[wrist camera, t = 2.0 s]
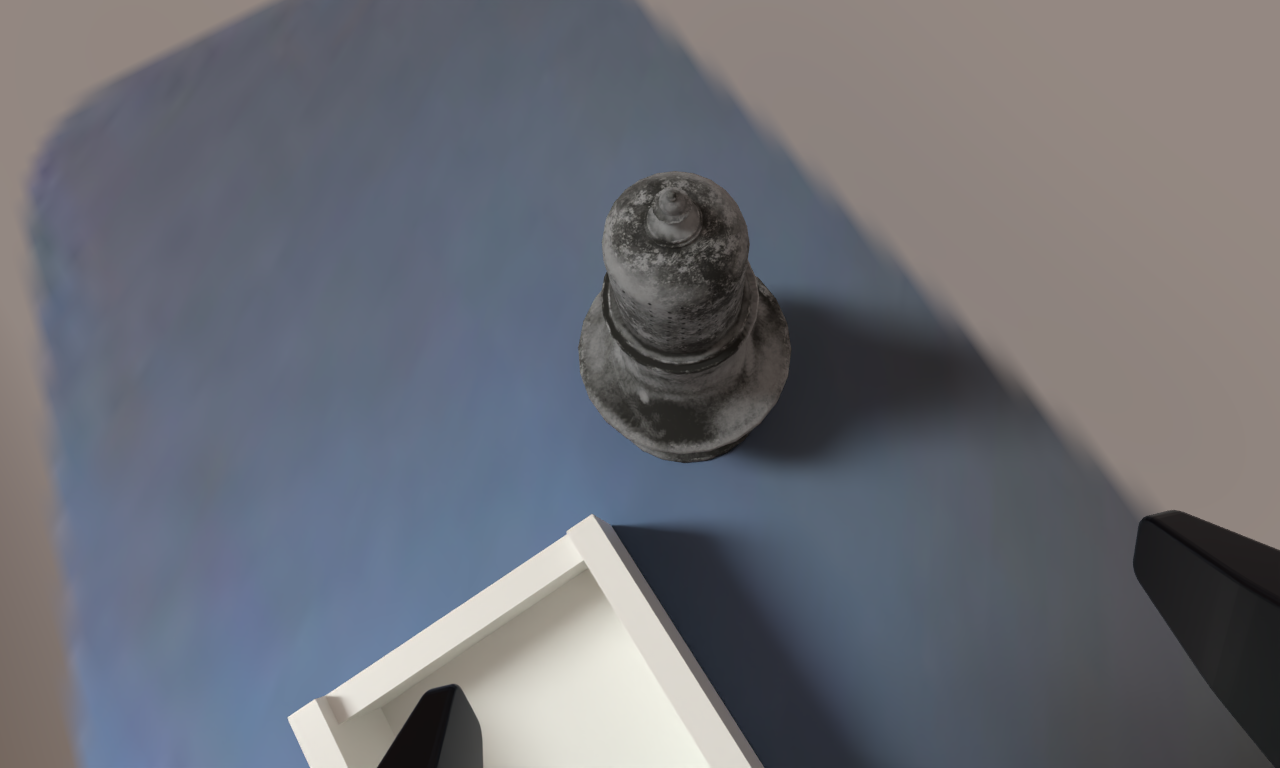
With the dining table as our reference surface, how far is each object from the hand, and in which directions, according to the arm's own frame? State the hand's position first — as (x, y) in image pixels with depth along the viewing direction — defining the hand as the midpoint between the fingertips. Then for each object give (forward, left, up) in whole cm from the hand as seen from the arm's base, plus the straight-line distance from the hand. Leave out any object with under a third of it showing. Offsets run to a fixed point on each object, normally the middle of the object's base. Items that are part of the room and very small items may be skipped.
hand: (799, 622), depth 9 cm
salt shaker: (+6, -2, -13) cm, 15 cm away
